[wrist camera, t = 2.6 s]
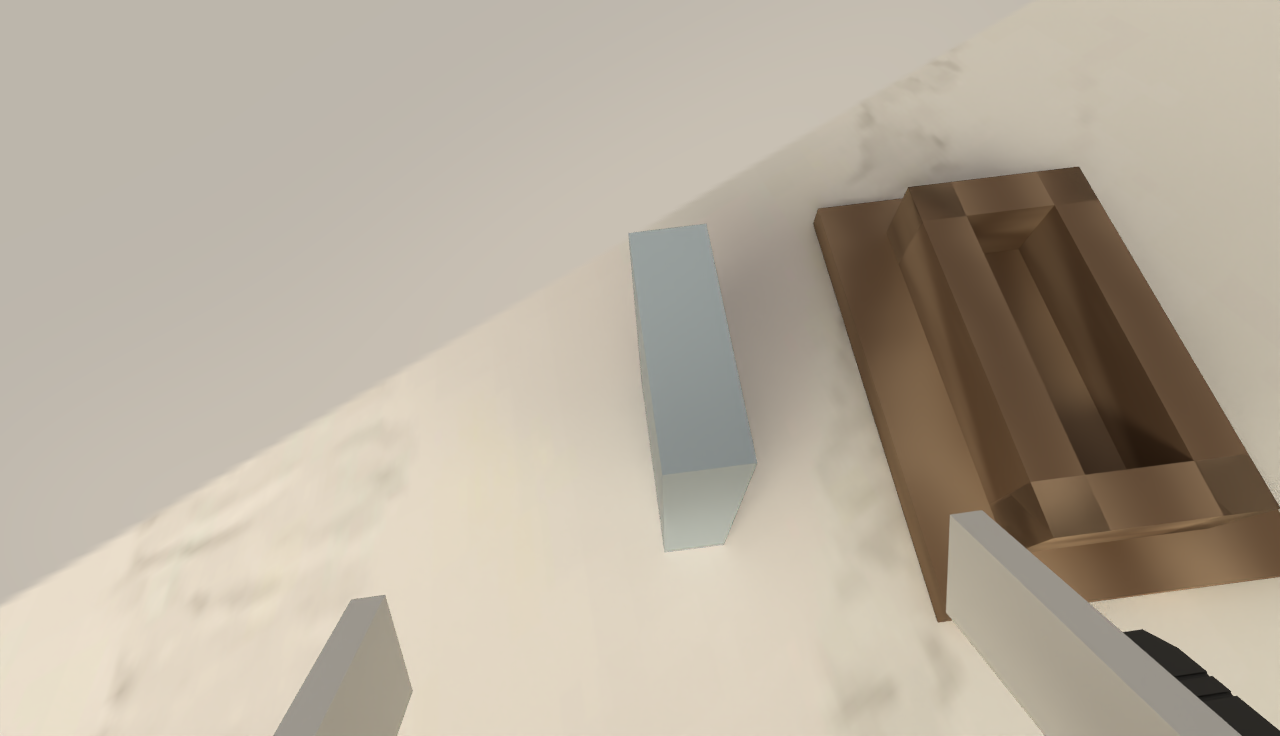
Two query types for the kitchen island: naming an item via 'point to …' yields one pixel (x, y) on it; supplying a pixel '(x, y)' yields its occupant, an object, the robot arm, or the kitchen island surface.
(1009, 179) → the track board
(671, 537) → the door panel
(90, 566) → the kitchen island surface
